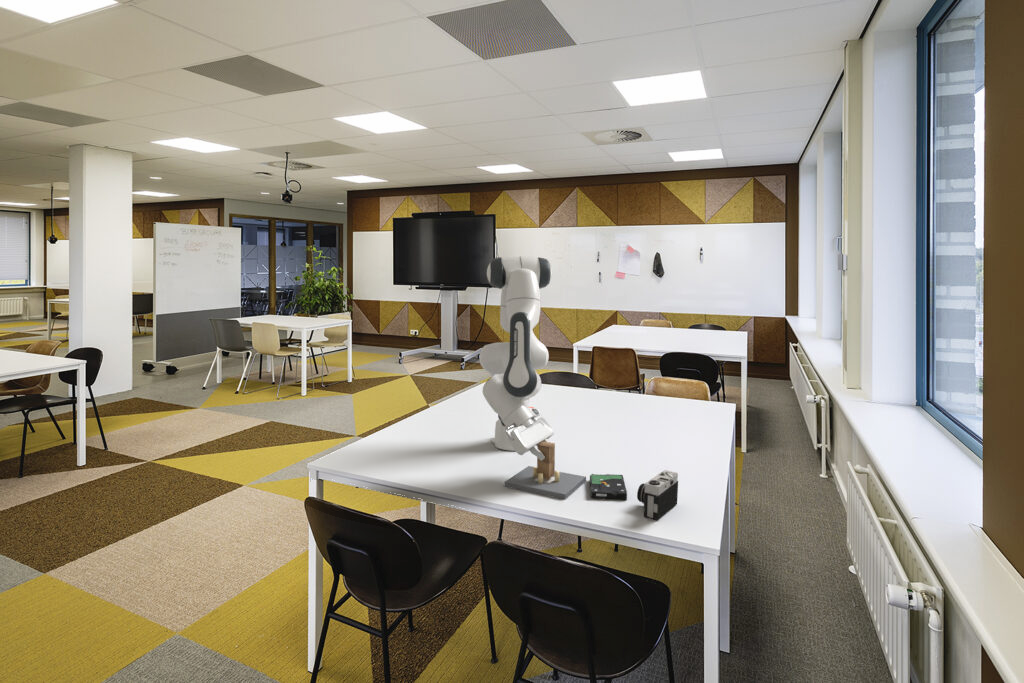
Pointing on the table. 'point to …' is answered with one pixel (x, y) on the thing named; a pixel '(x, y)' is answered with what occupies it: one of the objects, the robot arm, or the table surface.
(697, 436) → the table surface
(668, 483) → the camera
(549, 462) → the walnut block
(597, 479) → the disk drive
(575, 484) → the standoff plate
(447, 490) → the table surface
